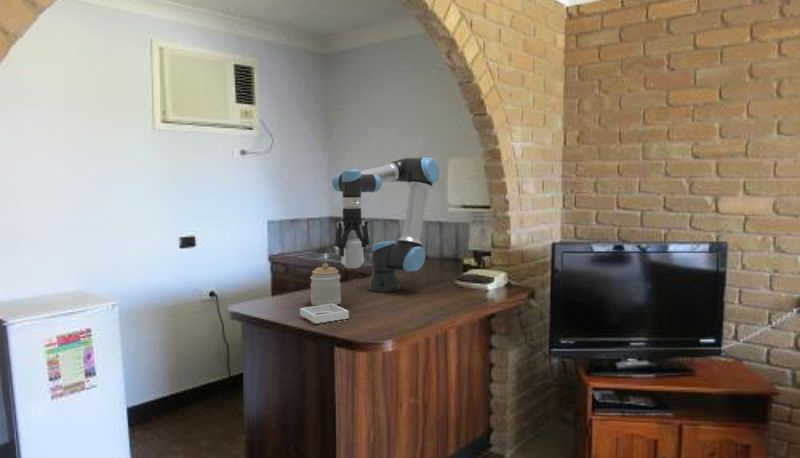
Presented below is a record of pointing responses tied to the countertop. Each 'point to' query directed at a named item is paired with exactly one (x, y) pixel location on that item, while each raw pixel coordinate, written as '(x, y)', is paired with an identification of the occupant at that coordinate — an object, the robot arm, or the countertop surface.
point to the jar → (325, 286)
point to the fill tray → (324, 313)
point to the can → (353, 253)
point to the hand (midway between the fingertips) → (352, 263)
